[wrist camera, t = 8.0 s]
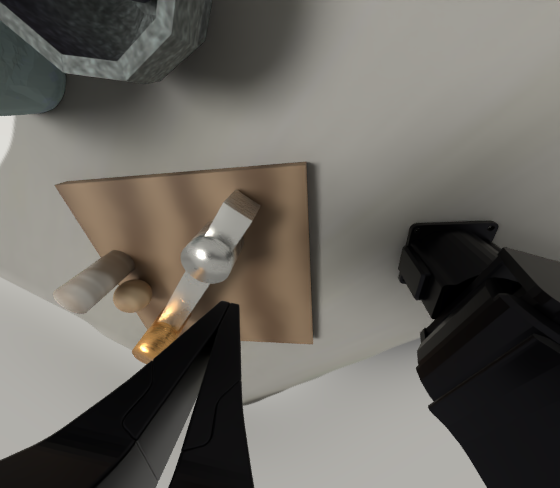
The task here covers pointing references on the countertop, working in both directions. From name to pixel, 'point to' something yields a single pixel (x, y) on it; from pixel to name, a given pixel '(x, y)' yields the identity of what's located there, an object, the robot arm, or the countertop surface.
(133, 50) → the mortar and pestle
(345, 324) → the countertop surface
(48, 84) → the teal ceramic pot
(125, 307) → the dough ball
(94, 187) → the board
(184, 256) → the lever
